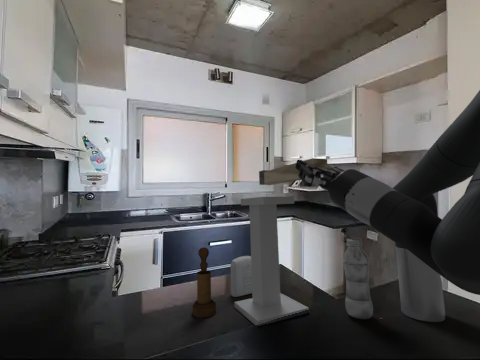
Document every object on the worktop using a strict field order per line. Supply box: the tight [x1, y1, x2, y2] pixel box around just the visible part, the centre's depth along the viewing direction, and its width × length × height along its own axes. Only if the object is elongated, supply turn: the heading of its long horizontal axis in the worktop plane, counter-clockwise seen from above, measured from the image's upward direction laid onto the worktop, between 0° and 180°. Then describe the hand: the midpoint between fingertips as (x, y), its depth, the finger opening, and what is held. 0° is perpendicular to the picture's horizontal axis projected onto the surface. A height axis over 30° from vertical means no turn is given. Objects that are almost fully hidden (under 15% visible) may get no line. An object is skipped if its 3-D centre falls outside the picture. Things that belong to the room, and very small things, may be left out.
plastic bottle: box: [341, 237, 374, 320], centre depth 65 cm, size 6×7×20 cm
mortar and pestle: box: [192, 247, 217, 318], centre depth 71 cm, size 7×6×18 cm
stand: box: [234, 196, 310, 326], centre depth 72 cm, size 16×14×32 cm
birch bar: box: [258, 157, 329, 186], centre depth 64 cm, size 4×23×4 cm, turn 25°
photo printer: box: [230, 255, 252, 298], centre depth 85 cm, size 10×4×12 cm, turn 124°
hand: (305, 164), depth 58 cm, fingers closed on birch bar, 4 cm apart
